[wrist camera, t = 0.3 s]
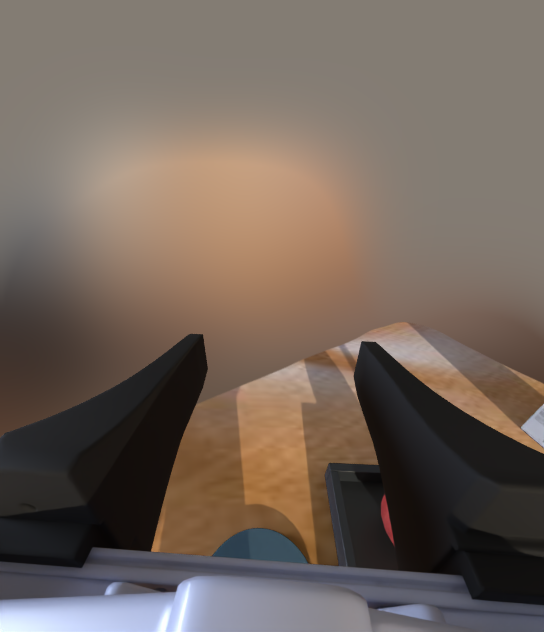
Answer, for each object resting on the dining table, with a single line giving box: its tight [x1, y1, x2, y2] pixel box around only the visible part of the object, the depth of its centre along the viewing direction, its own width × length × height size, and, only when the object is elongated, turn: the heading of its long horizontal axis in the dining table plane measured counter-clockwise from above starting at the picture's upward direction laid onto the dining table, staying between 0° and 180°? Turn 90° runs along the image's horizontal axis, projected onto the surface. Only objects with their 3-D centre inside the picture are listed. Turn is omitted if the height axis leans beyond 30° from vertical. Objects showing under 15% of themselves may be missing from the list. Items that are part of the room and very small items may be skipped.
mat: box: [213, 528, 308, 564], centre depth 19 cm, size 10×10×1 cm
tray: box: [325, 463, 398, 571], centre depth 21 cm, size 17×13×2 cm
